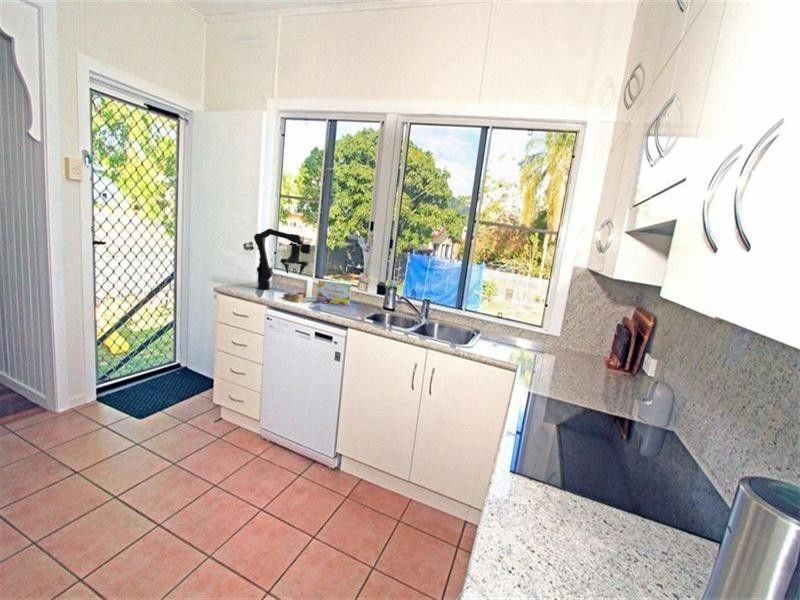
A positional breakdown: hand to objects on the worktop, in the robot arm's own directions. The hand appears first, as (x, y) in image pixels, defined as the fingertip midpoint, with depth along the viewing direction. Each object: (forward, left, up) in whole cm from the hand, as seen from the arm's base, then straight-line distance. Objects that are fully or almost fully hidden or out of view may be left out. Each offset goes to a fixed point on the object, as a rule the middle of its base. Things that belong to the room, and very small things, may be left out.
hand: (293, 274), depth 272 cm
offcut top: (+13, -29, -11) cm, 34 cm away
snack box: (+35, -21, -13) cm, 43 cm away
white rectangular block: (+14, -11, -13) cm, 23 cm away
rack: (+9, -21, -13) cm, 26 cm away
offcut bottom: (+13, -29, -14) cm, 35 cm away
